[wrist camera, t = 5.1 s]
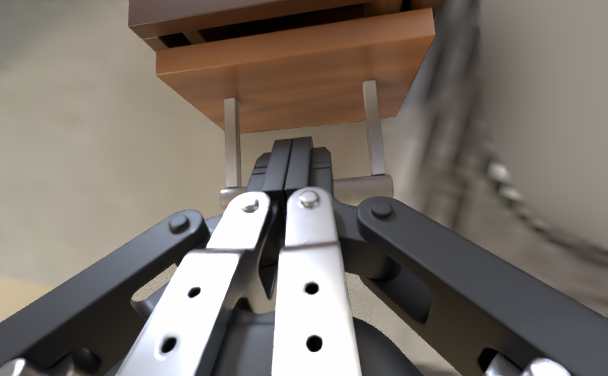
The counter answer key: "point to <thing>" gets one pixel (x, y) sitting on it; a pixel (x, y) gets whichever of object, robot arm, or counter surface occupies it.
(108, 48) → the counter surface
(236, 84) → the drawer
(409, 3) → the cabinet
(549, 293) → the robot arm
